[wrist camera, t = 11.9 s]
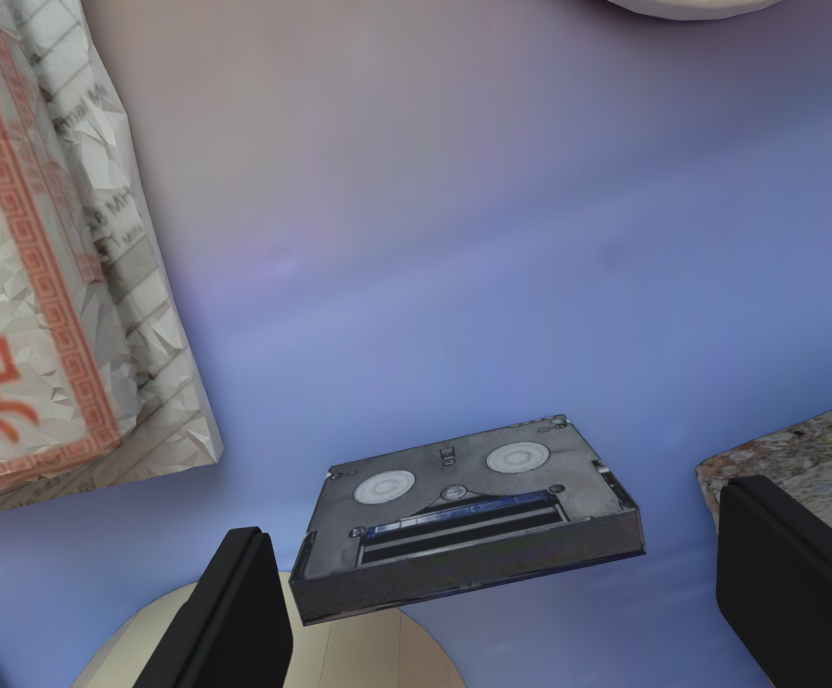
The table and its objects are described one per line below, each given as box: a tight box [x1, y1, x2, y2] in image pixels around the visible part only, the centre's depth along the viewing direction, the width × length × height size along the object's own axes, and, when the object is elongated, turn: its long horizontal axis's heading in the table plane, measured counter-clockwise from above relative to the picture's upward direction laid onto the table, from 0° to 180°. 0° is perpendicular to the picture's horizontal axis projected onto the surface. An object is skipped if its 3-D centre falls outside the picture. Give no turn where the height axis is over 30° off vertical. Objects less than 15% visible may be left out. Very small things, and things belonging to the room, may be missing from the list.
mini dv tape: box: [288, 415, 646, 627], centre depth 15 cm, size 8×2×6 cm, turn 104°
